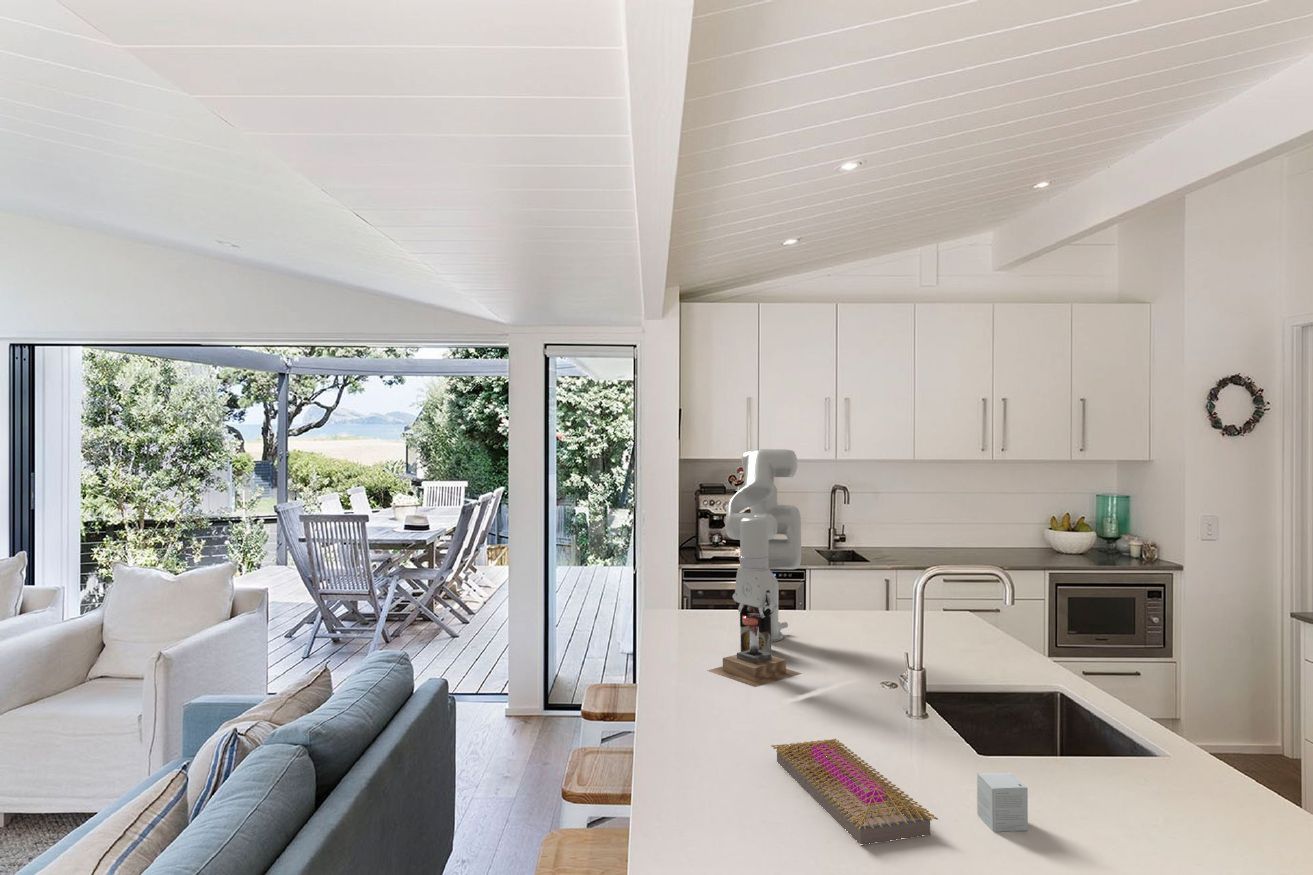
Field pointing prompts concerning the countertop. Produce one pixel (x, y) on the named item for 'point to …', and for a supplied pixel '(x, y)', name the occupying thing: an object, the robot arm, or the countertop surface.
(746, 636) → the coffee box
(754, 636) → the copper dome knob
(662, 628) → the countertop surface
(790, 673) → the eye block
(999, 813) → the product box
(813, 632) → the countertop surface
